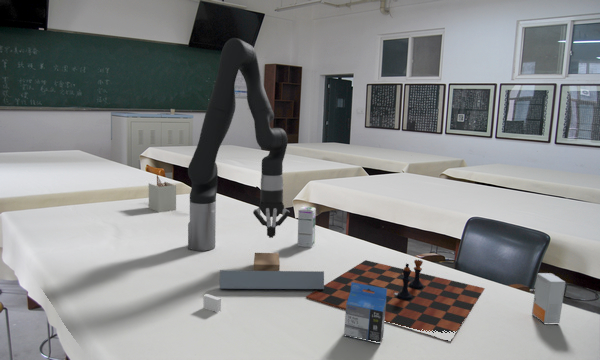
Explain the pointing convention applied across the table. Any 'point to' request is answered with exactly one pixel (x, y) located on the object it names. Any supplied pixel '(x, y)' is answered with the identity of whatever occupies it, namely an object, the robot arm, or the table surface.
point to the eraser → (212, 303)
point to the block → (266, 262)
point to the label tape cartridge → (365, 312)
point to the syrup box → (306, 226)
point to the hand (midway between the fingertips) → (271, 237)
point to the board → (272, 279)
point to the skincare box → (548, 298)
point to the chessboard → (407, 295)
